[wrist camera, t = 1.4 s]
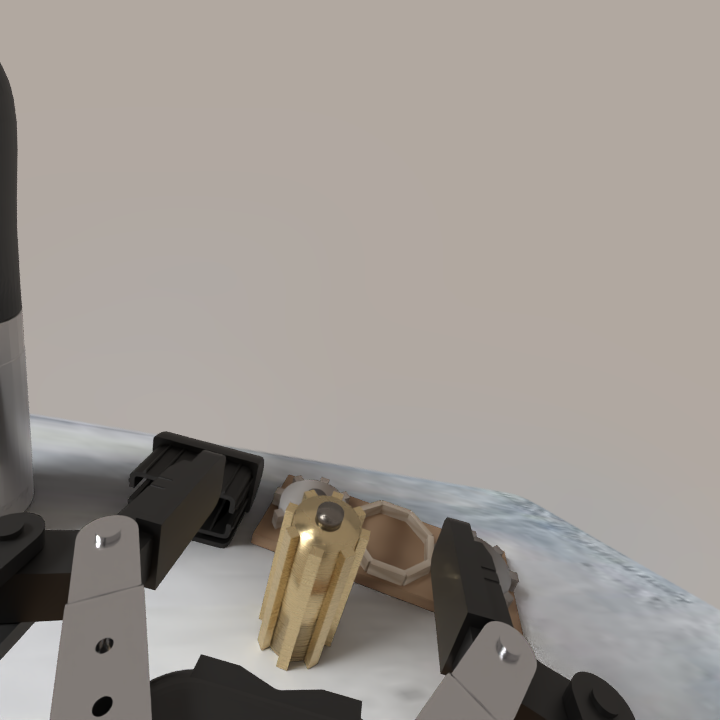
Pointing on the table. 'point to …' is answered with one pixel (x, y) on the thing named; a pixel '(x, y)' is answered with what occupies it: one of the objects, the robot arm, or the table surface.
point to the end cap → (236, 484)
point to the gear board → (385, 546)
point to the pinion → (311, 576)
